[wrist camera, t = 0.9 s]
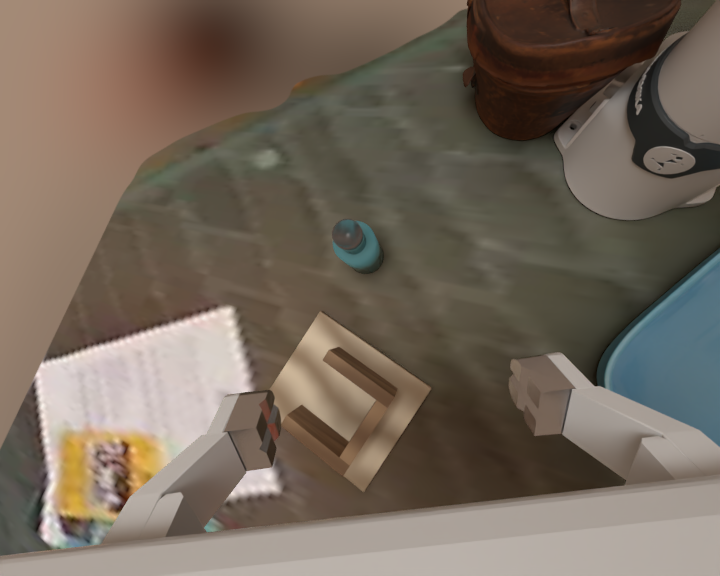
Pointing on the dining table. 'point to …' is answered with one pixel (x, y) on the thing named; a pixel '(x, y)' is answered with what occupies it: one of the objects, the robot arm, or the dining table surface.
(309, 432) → the bottle stand
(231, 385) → the dining table surface
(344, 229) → the teal bottle
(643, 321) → the casserole dish
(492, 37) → the case
